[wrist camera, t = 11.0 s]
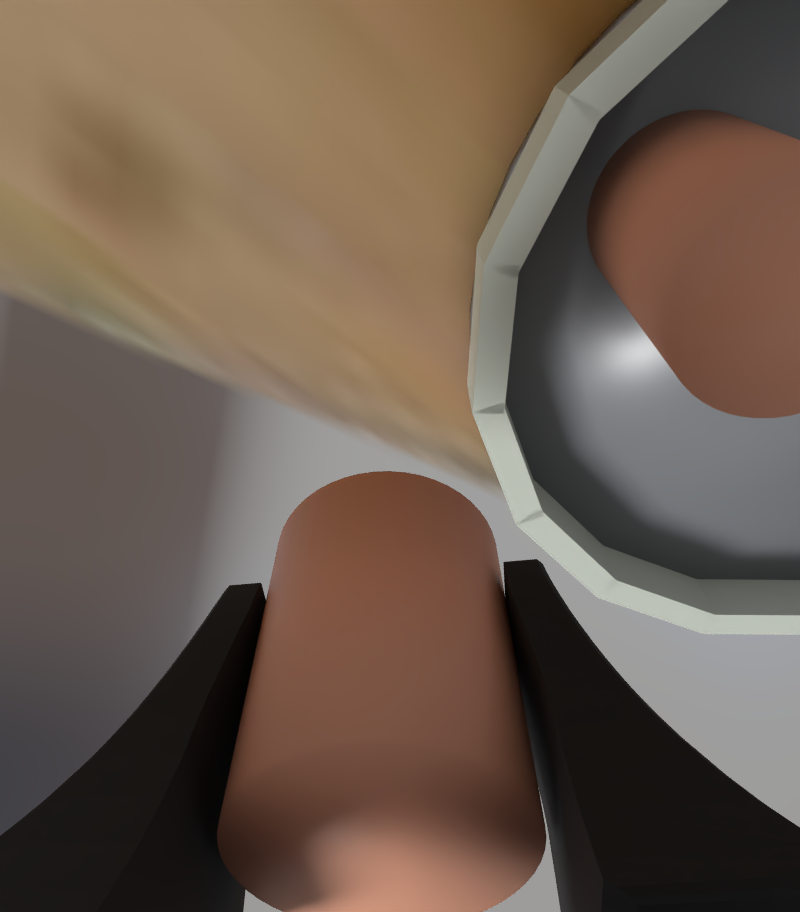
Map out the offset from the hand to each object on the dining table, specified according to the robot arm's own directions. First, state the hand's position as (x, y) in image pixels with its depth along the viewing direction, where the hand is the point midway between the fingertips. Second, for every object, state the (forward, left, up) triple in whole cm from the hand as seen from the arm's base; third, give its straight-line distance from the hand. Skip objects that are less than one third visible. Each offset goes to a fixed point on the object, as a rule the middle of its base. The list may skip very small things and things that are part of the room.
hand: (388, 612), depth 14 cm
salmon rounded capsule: (-7, -6, -8) cm, 12 cm away
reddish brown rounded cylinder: (0, 0, -1) cm, 1 cm away
